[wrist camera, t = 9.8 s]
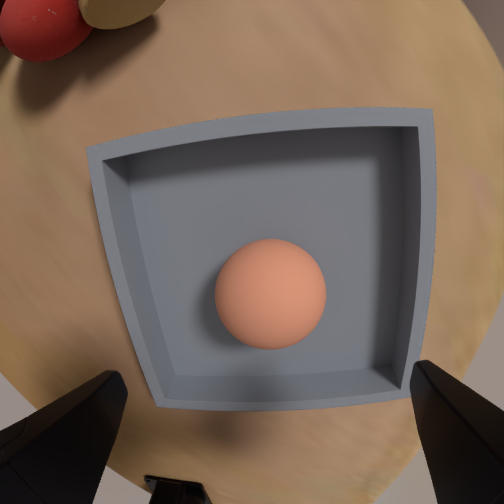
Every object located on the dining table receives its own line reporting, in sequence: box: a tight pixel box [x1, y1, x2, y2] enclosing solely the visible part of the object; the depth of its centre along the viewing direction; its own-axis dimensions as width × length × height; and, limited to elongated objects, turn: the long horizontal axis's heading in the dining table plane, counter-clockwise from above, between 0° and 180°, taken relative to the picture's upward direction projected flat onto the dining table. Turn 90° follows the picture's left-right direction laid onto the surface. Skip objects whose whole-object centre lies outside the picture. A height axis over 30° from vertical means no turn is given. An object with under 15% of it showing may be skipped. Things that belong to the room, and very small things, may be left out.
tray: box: [86, 107, 437, 411], centre depth 16 cm, size 16×16×3 cm
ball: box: [215, 239, 326, 350], centre depth 15 cm, size 5×5×5 cm
